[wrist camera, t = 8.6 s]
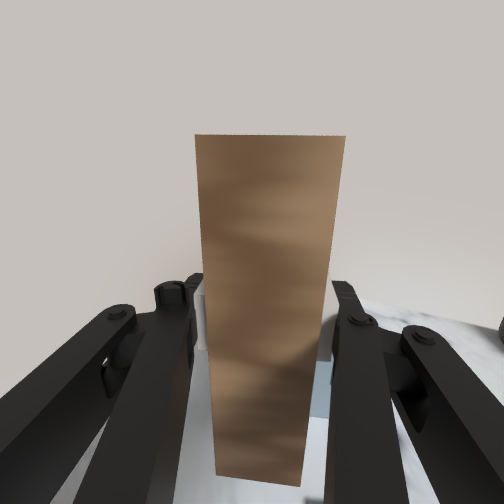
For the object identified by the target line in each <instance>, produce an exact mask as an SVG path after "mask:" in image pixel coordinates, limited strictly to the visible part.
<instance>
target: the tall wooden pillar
mask: <svg viewBox="0 0 504 504" xmlns="http://www.w3.org/2000/svg"><path fill="white" fill-rule="evenodd" d="M344 145H345V136H298V135H296V136H295V135H292V136H291V135H195V147H196V164H197V179H198V196H199V212H200V228H201V244H202V259H203V276H204V292H205V309H206V325H207V341H208V357H209V373H210V389H211V405H212V421H213V437H214V453H215V469H216V475H218V476H225V477H232V478H239V479H247V480H254V481H261V482H268V483H275V484H282V485H289V486H296V487H300V484H301V476H302V469H303V461H304V453H305V445H306V438H307V430H308V422H309V415H310V407H311V399H312V391H313V384H314V376H315V368H316V361H317V353H318V345H319V337H320V330H321V322H322V314H323V307H324V299H325V291H326V283H327V276H328V268H329V260H330V253H331V244H332V236H333V229H334V222H335V214H336V206H337V199H338V191H339V183H340V175H341V167H342V160H343V152H344Z"/></svg>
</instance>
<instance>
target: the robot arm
mask: <svg viewBox="0 0 504 504" xmlns="http://www.w3.org/2000/svg"><path fill="white" fill-rule="evenodd" d="M154 294H155V301H156V310H155V311H154V312H149V313H140V314H136V311H135V308H134V307H133V306H132V305H128V304H119V305H114V306H111V307H109V308H107V309H105V310H103V311H102V312H101V313H99V314H98V315H97V316H96V317H95V318H94V319H93V320H91V321H90V322H89V323H88V324H87V325H85V326H84V327H83V328H82V329H81V330H80V331H79V332H77V333H76V334H75V335H74V336H73V337H72V338H70V339H69V340H68V341H67V342H66V343H65V344H63V345H62V346H61V347H60V348H59V349H58V350H56V351H55V352H54V353H53V354H52V355H51V356H49V357H48V358H47V359H46V360H45V361H44V362H43V363H42V364H40V365H39V366H38V367H37V368H35V369H34V370H33V371H32V372H31V373H30V374H28V375H27V376H26V377H25V378H24V379H23V380H22V381H20V382H19V383H18V384H17V385H16V386H15V387H13V388H12V389H11V390H10V391H9V392H8V393H6V394H5V395H4V396H3V397H2V398H1V399H0V504H50V502H51V501H52V499H53V498H54V496H55V495H56V493H57V492H58V490H59V489H60V488H61V486H62V485H63V483H64V482H65V480H66V479H67V477H68V476H69V474H70V473H71V472H72V470H73V469H74V467H75V466H76V464H77V463H78V461H79V460H80V458H81V457H82V456H83V454H84V453H85V451H86V450H87V448H88V447H89V445H90V444H91V442H92V441H93V440H94V438H95V437H96V435H97V434H98V432H99V431H100V429H101V428H102V426H103V425H104V424H105V422H106V421H107V419H108V418H109V419H108V422H107V424H106V426H105V429H104V431H103V433H102V436H101V438H100V441H99V443H98V445H97V448H96V450H95V452H94V455H93V457H92V459H91V462H90V464H89V466H88V469H87V471H86V473H85V476H84V478H83V480H82V483H81V485H80V487H79V490H78V492H77V494H76V497H75V499H74V501H73V504H173V497H174V490H175V483H176V477H177V470H178V463H179V457H180V450H181V443H182V437H183V430H184V423H185V416H186V410H187V403H188V396H189V390H190V383H191V376H192V369H193V363H194V346H195V344H196V341H197V344H198V350H204V351H208V341H207V325H206V309H205V292H204V276H203V273H194V274H193V275H191V276H189V277H188V279H187V280H186V281H185V282H182V281H168V282H164V283H162V284H159V285H158V286H156V287H155V288H154ZM499 335H500V337H501V339H502V341H503V343H504V317H503V320H502V322H501V324H500V327H499ZM332 354H333V358H334V362H333V368H332V374H331V380H330V385H331V396H330V411H329V426H328V442H327V457H326V472H325V487H324V503H323V504H409V498H408V492H407V487H406V481H405V475H404V470H403V464H402V458H401V452H400V447H399V441H398V435H397V430H396V424H395V418H394V412H393V407H392V401H393V403H394V405H395V407H396V409H397V411H398V414H399V416H400V418H401V420H402V422H403V424H404V427H405V429H406V431H407V433H408V435H409V437H410V440H411V442H412V444H413V446H414V448H415V451H416V453H417V455H418V457H419V459H420V461H421V464H422V466H423V468H424V470H425V472H426V474H427V477H428V479H429V481H430V483H431V485H432V487H433V490H434V492H435V494H436V496H437V498H438V500H439V503H440V504H504V406H503V405H502V404H501V403H500V402H499V401H498V399H497V398H496V397H495V396H494V395H493V394H492V393H491V391H490V390H489V389H488V388H487V387H486V386H485V385H484V383H483V382H482V381H481V380H480V379H479V378H478V377H477V375H476V374H475V373H474V372H473V371H472V370H471V369H470V367H469V366H468V365H467V364H466V363H465V362H464V361H463V359H462V358H461V357H460V356H459V355H458V354H457V353H456V351H455V350H454V349H453V348H452V347H451V346H450V345H449V343H448V342H447V341H446V340H445V339H444V338H443V337H442V336H441V335H440V334H438V333H437V332H435V331H433V330H431V329H429V328H426V327H423V326H417V325H410V326H406V327H404V328H403V331H402V334H400V333H396V332H392V331H388V330H385V329H382V328H380V327H378V323H377V321H376V319H374V318H373V317H372V316H371V315H369V314H367V313H365V312H364V310H363V307H362V305H361V303H360V301H359V299H358V297H357V295H356V294H355V291H354V289H353V287H352V286H351V285H350V284H348V283H347V282H346V281H331V279H330V276H329V273H328V276H327V283H326V291H325V299H324V307H323V314H322V322H321V330H320V337H319V345H318V353H317V361H324V362H331V355H332ZM106 358H107V359H108V360H107V361H106V362H105V363H104V364H103V362H104V360H105V359H106ZM102 364H103V365H102ZM391 398H392V401H391ZM109 416H110V417H109Z"/></svg>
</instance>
